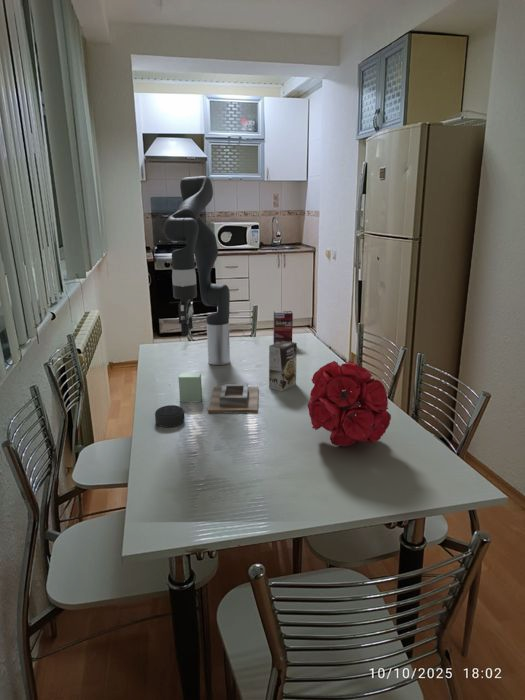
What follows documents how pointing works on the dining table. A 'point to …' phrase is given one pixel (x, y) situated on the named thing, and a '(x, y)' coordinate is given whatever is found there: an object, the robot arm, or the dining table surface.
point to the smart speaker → (169, 416)
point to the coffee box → (282, 365)
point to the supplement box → (283, 326)
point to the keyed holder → (234, 399)
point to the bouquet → (348, 404)
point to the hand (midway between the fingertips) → (187, 331)
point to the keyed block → (190, 387)
